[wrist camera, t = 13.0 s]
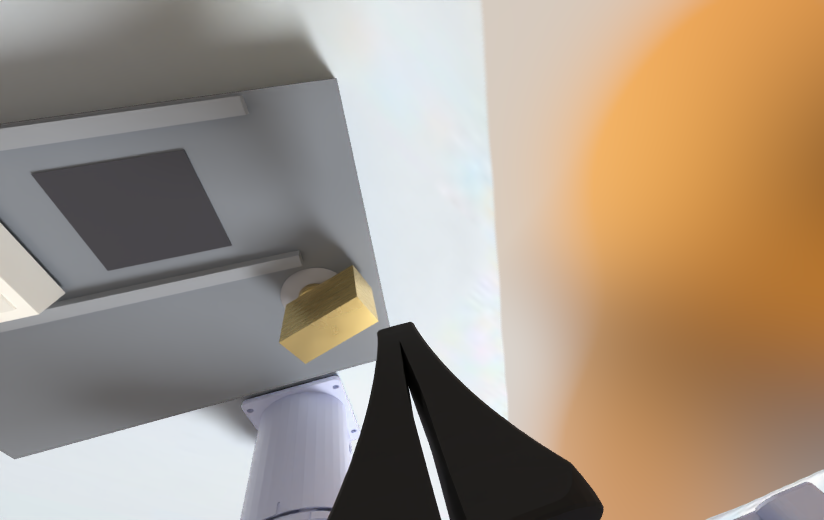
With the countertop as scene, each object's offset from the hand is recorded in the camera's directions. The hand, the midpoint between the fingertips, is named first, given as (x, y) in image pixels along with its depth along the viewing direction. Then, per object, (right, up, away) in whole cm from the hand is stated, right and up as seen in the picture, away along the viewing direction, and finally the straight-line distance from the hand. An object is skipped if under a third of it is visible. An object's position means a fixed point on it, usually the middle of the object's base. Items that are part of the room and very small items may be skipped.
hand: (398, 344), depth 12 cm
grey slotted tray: (-14, +2, +7) cm, 16 cm away
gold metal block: (-4, +2, +6) cm, 8 cm away
